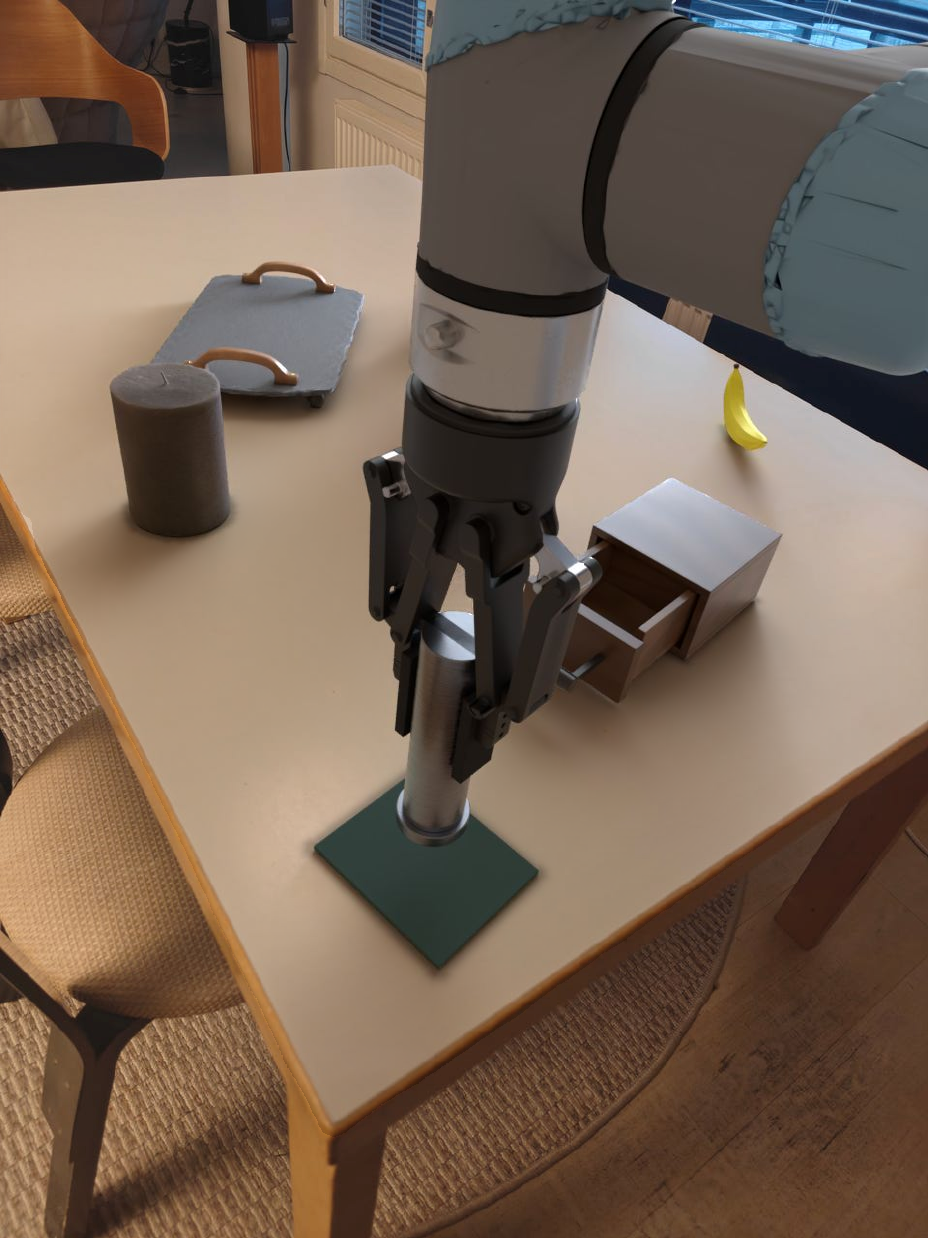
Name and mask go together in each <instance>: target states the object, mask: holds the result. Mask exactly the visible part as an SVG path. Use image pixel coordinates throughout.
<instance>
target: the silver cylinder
mask: <svg viewBox="0 0 928 1238" xmlns="http://www.w3.org/2000/svg"><path fill="white" fill-rule="evenodd" d="M415 629H417V630H418V631H420V632H421V637H420V646H419V656H418V665H417V674H416V684H415V693H414V702H413V712H412V721H411V730H410V733H409V741H408V750H407V758H406V759H407V760H406V770H405V777H404V779H405V786H404V789H403V790H402V791H401V793H400V794H399V796H398V799H397V803H396V813H395V817H396V822H397V825H398V827H399V829H400V830H401V832H402V833H403V834H404V835H405V836H406V837H407V838H408V839H409V840H411V841H413V842H414V843H417V844H419V845H422V846H427V847H441V846H445V845H448V844H451V843H453V842H455V841H456V840H457V839H459V838H460V837H461V836H462V835H463V833H464V832H465V830H466V828H467V826H468V821H469V816H470V814H471V805H470V802H469V801H470V800H469V799H468V793H469V787H470V782H471V777H472V775H471V776H470V777H469V778H468V779H466V780H465V781H464V782H463V783H461V784H459V783H458V782H457V781H456V780H455V779H453V778H452V777H451V773H452V767H453V761H454V755H455V748H456V742H457V736H458V730H459V724H460V717H461V711H462V705H463V699H464V698H466V697H467V696H469V695H470V694H471V693H473V692H474V691H476V669H475V642H474V614H473V613H471V612H467V611H466V612H465V611H460V610H459V611H458V610H448V611H443V612H441V611H440V612H438V611H437V610H435V609H434V610H432V611H430V612H429V613H427V614H425V615H424V616H422V617H421V618H420V619H419V622H418V625H417V626H416V627H415Z"/></svg>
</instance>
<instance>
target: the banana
mask: <svg viewBox="0 0 928 1238" xmlns="http://www.w3.org/2000/svg"><path fill="white" fill-rule="evenodd" d="M739 369H740V364H739V363H734V364H733V370H732V371H731V373H730V375H729V376H728V379H727V381H726V384H725V388H724V393H723V405H722V406H723V419H724V425H725V429H726V432H727V433H728V436H730V438H731V439H732V441H734V442H735V443H736V444H737V445H739V446H741V447H742V448H744V449H746V450H748V451H755V450H760V449H763V448H765V447H766V446H767V444H768V439H767V437H766V436H765V435H764V434H763V433H762V432H760V431H759V429H758V428H757V426H756V425H755V424H754V422H753V421H752V419H751V417H750V415H749V412H748V410H747V407H746V403H745V389H744V381H743V377H742V374H741V372H740V370H739Z"/></svg>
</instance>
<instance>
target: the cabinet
mask: <svg viewBox="0 0 928 1238" xmlns="http://www.w3.org/2000/svg"><path fill="white" fill-rule="evenodd" d="M782 537H783V533H782V532H779V531H777V530H775V529H773V528H771V527H770V526H767V525H766V524H763V523H761V522H760V521H758V520H756V519H754V518H752V517H750V516H749V515H746V514H744V513H742V512H740V511H738V510H736V509H734V508H733V507H730V506H728V505H726V504H724V503H723V502H720V501H718V500H717V499H715V498H713V497H711V496H709V495H707V494H705V493H703V492H701V491H699V490H697V489H695V488H693V487H691V486H689V485H687V484H686V483H683V482H682V481H679V480H677V479H676V478H673V477H669V478H668V479H666V480H664V481H662V482H661V483H660V484H658V485H656V486H654V487H653V488H651V489H649V490H648V491H646V492H644V493H642V494H641V495H640V496H638V497H637V498H635V499H633V500H631V501H630V502H628V503H626V504H624V505H623V506H621V507H620V508H618V509H617V510H615V511H613V512H612V513H610V514H608V515H606V516H605V517H603V518H601V519H600V520H598V521H597V522H595V523H594V524H592V527H591V532H590V534H589V539H588V543H587V548H586V551H587V550H589V549H590V548H592V547H593V546H595V545H597V544H598V543H600V542H601V541H603V540H604V539H605V540H606V541H608V542H610V543H612V544H613V545H615V546H617V547H618V548H620V549H622V550H624V551H625V552H627V553H629V554H631V555H632V556H634V557H636V558H638V559H639V560H641V561H643V562H645V563H646V564H648V565H650V566H652V567H653V568H655V569H657V570H658V571H660V572H662V573H664V574H665V575H667V576H669V577H671V578H672V579H674V580H676V581H678V582H679V583H681V584H683V585H685V586H686V587H688V588H690V589H692V590H693V591H695V592H697V593H699V594H700V597H699V600H698V603H697V605H696V608H695V611H694V613H693V616H692V619H691V621H690V624H689V627H688V629H687V632H686V635H685V636H684V637H683V638H682V639H681V640H680V641H678V642H677V643H676V644H675V645H674V646H672V647H671V648H670V649H669V650H668V651H667V652H670V653H672V654H673V655H675V656H676V657H678V658H680V659H681V660H683V661H686V660H687V659H688V658H689V657H691V656H692V655H693V654H694V653H695V652H696V651H698V650H699V649H700V648H701V647H702V646H703V645H704V644H706V643H707V642H708V641H709V640H710V639H711V638H713V637H714V636H715V635H716V634H717V633H718V632H720V631H721V630H722V629H723V628H724V627H726V625H727V624H729V623H730V622H732V620H733V619H734V618H736V616H738V615H739V614H740V613H741V612H742V611H743V610H745V609H746V608H747V607H749V605H750V604H752V602H754V601H755V600H756V598H757V595H758V593H759V591H760V589H761V586H762V583H763V581H764V580H765V577H766V575H767V572H768V570H769V567H770V565H771V563H772V560H773V559H774V556H775V553H776V551H777V549H778V547H779V544H780V542H781V539H782Z"/></svg>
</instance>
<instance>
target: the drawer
mask: <svg viewBox="0 0 928 1238" xmlns="http://www.w3.org/2000/svg"><path fill="white" fill-rule="evenodd" d="M585 557H592V558H594V559H595V560H597V561H598V562H599V564H600V565H601V568H602V576H601V578H600V580H599V581H598V582H597V583H596V584H595V585H594V586H593V587H592V588H591V589H590V590H589V591H588V592H587V594H586V595H585V596H584V597H583V598H582V600H581V604H580V607H579V610H578V613H577V617H576V620H575V623H574V626H573V630H572V633H571V636H570V639H569V643H568V646H567V649H566V652H565V656H564V659H563V662H562V665H561V669H560V672H559V675H558V678H557V682H556V685H555V686H557V687H558V688H560V689H562V690H563V691H565V692H566V693H567V694H570V693H572V692H573V691H574V690H575V689H576V688H577V685H578V683H579V681H580V680H582V681H583V682H584V683H586V684H587V685H589V686H590V687H592V688H593V689H595V690H597V691H598V692H599V693H601V694H603V696H605V697H606V698H608V699H610V700H611V701H613V702H614V703H615V704H617V705H619V704H620V703H622V701H624V700H625V699H626V698H627V695H628V693H629V690H630V687H631V684H632V682H633V680H634V679H636V677H638V676H639V675H640V674H641V673H643V672H644V671H645V670H646V669H648V668H649V667H650V666H651V665H652V664H653V663H655V662H656V661H657V660H659V659H660V658H661V657H662V656H663V655H664V654H666V653H667V652H669V651H668V650H669V649H670V648H671V647H672V646H674V645H675V644H676V643H677V642H678V641H680V640H681V639H682V638H683V637H684V636H685V635H686V632H687V629H688V627H689V624H690V621H691V619H692V616H693V613H694V611H695V608H696V605H697V603H698V600H699V597H700V594H699V593H697V592H695V591H693V590H692V589H690V588H688V587H686V586H685V585H683V584H681V583H679V582H678V581H676V580H674V579H672V578H671V577H669V576H667V575H665V574H664V573H662V572H660V571H658V570H657V569H655V568H653V567H652V566H650V565H648V564H646V563H645V562H643V561H641V560H639V559H638V558H636V557H634V556H632V555H631V554H629V553H627V552H625V551H624V550H622V549H620V548H618V547H617V546H615V545H613V544H612V543H610V542H608V541H606V540H605V539H604V540H603V541H601V542H600V543H598V544H597V545H595V546H593V547H592V548H590V549H589V550H587V549H586V550H585V551H584V552H582V553H580V554H579V555H577V556H575V558H576V559H577V560H578V561H580V560H582V559H583V558H585ZM536 581H537V574H536V573H535V574H532V575H530V576H529V578H528V580H527V582H526V583H525V585H524V628H525V624H526V620H527V616H528V613H529V610H530V607H531V605H532V603H533V601H534V599H535V598H536V596H537V595H538V594H536V593H535V592H534V590H533V588H532V585H533V583H534V582H536ZM524 628H523V632H524Z"/></svg>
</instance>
